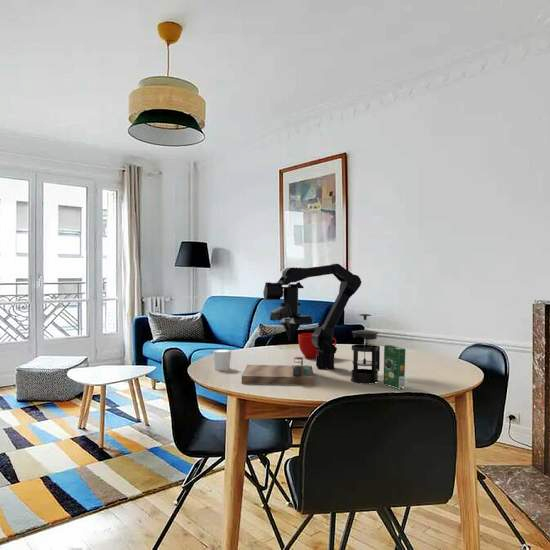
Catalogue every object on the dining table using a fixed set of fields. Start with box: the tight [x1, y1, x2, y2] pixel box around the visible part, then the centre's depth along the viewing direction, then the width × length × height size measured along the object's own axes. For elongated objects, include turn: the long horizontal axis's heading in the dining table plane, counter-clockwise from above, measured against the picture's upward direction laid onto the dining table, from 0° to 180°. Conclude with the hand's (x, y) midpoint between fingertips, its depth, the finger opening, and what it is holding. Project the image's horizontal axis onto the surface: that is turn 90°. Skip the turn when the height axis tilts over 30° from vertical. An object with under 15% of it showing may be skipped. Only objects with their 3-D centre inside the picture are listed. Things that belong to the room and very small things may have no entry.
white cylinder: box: [212, 349, 232, 371], centre depth 179 cm, size 7×7×7 cm
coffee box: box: [383, 344, 406, 388], centre depth 153 cm, size 8×3×13 cm, turn 23°
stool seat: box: [241, 364, 315, 386], centre depth 165 cm, size 24×20×4 cm
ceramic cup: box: [297, 332, 337, 360], centre depth 208 cm, size 13×17×10 cm
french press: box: [350, 313, 381, 385], centre depth 162 cm, size 12×9×23 cm
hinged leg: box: [292, 356, 304, 376], centre depth 164 cm, size 18×3×3 cm, turn 176°
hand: (290, 340), depth 180 cm, fingers closed
